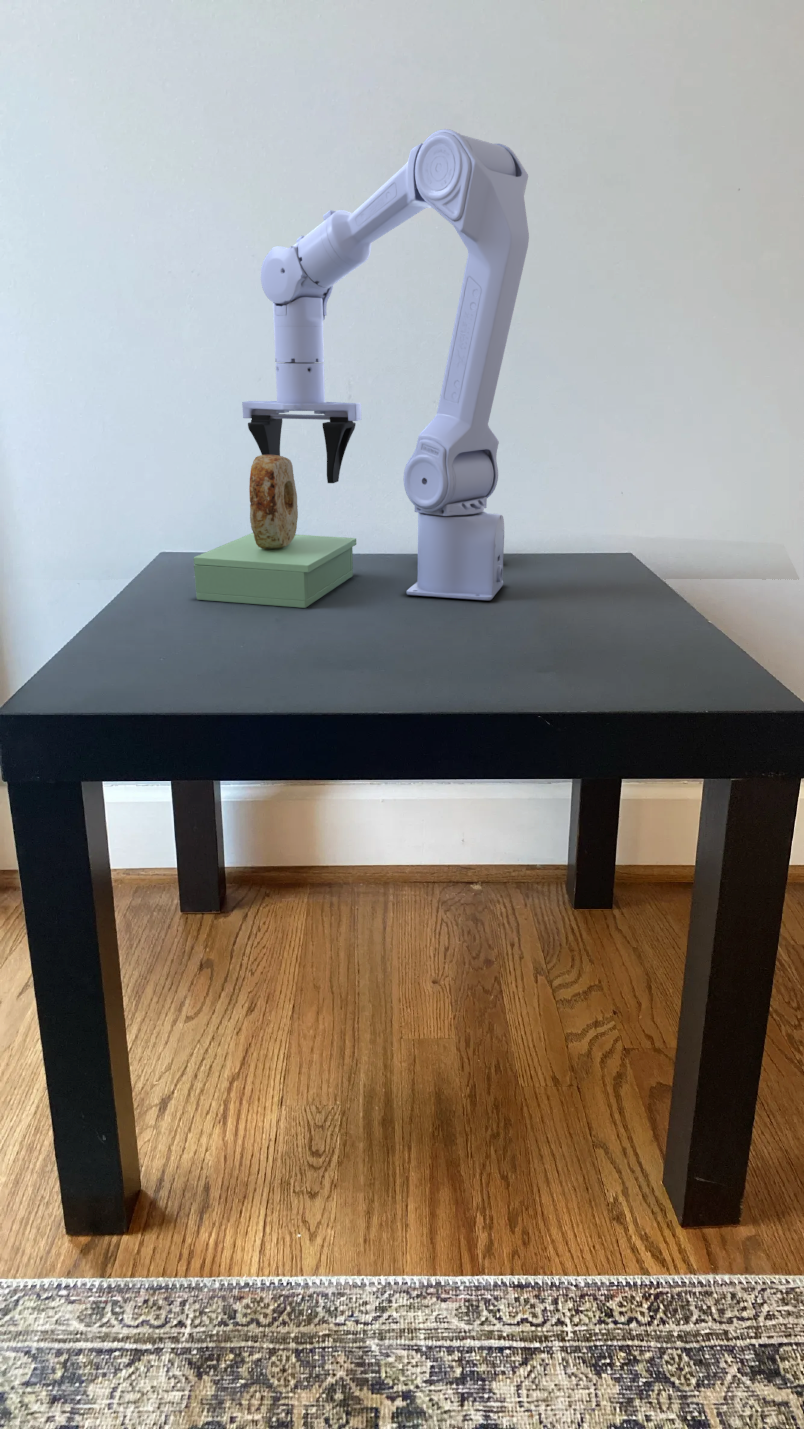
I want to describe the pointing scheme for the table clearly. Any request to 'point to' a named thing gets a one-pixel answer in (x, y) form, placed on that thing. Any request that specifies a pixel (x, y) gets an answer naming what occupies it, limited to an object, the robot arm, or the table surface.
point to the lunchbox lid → (277, 553)
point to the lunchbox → (272, 583)
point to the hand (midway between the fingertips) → (303, 481)
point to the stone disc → (273, 501)
